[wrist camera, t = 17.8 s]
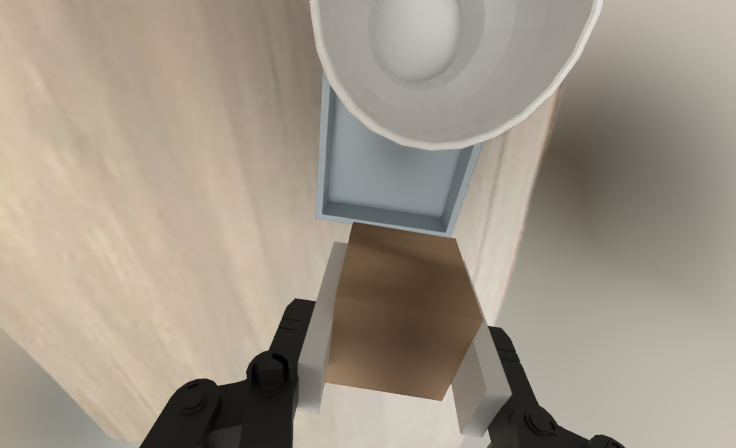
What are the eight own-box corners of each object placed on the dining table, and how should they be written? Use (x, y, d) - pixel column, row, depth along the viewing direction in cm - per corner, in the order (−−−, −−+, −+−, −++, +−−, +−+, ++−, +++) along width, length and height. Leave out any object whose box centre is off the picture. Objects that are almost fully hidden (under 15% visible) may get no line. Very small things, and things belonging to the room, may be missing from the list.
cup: (430, -106, 19) (523, -469, 6) (515, 37, 22) (691, 15, 9) (320, 30, 23) (227, 0, 10) (406, 133, 26) (422, 210, 13)
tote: (339, -68, 20) (330, -89, 17) (525, -37, 20) (548, -53, 17) (322, 202, 31) (315, 218, 28) (444, 221, 31) (450, 238, 28)
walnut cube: (342, 296, 16) (324, 382, 12) (353, 221, 14) (335, 296, 10) (429, 310, 17) (441, 400, 12) (455, 238, 14) (483, 320, 10)
